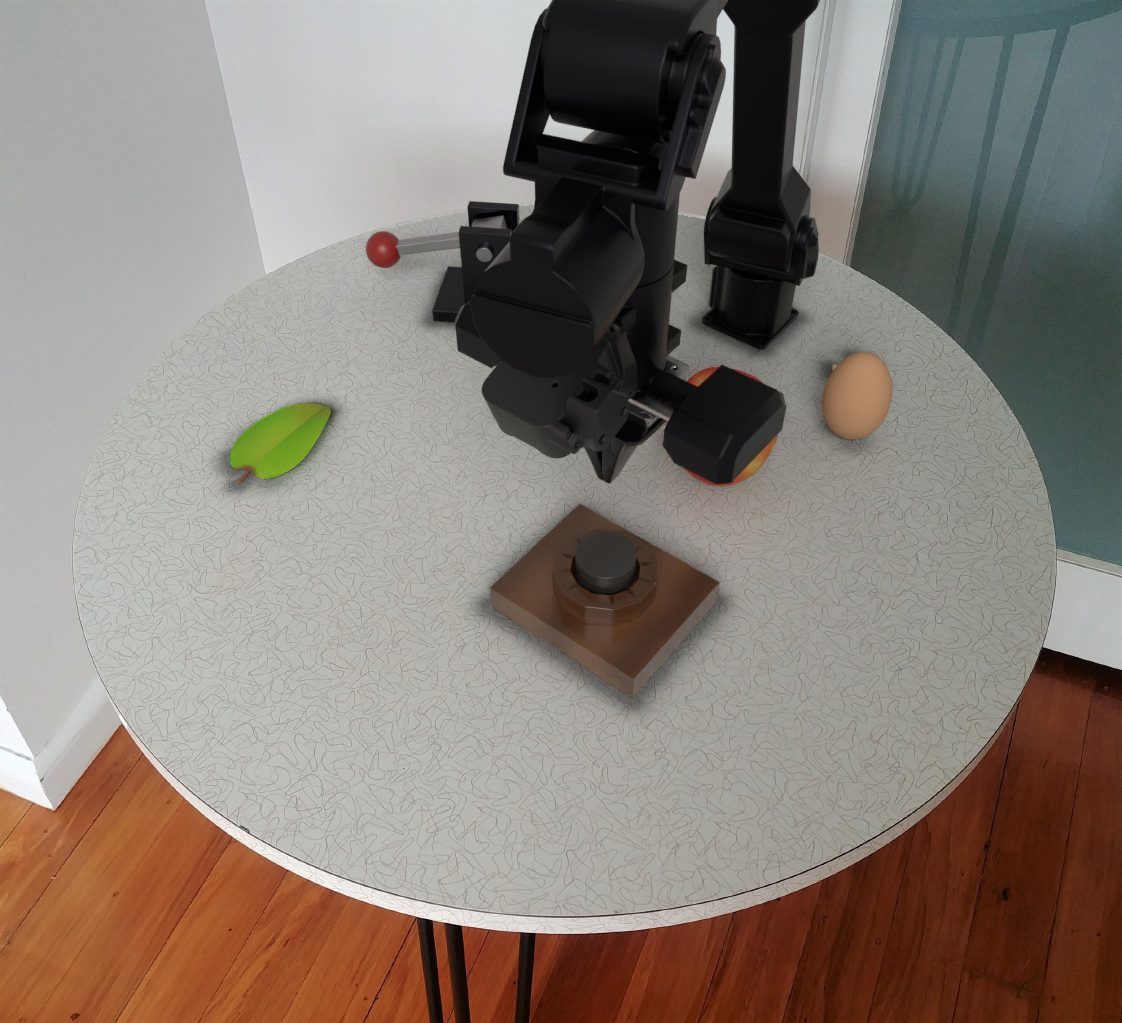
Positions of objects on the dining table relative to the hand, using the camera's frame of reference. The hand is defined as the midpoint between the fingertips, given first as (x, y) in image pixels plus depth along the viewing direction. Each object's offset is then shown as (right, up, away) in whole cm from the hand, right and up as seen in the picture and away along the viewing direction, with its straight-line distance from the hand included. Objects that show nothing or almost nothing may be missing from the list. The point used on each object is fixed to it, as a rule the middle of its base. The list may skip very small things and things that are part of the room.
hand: (608, 477), depth 64 cm
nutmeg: (+22, +9, +27) cm, 36 cm away
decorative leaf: (-25, +3, +20) cm, 33 cm away
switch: (-14, +21, +30) cm, 39 cm away
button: (0, -6, +6) cm, 9 cm away
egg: (+20, +4, +21) cm, 29 cm away
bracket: (-9, +17, +33) cm, 39 cm away
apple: (+9, +1, +18) cm, 20 cm away
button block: (0, -9, +9) cm, 12 cm away
